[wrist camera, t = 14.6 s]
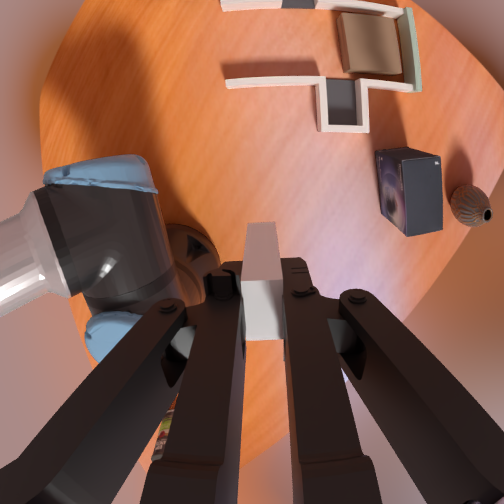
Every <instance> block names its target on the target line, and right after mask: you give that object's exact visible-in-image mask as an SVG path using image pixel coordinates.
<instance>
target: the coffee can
mask: <svg viewBox="0 0 504 504" xmlns="http://www.w3.org/2000/svg"><path fill="white" fill-rule="evenodd" d="M173 413H174V409H172V410H168V411H167V413H166V414H165V416H164V418H163V420H162V423H161V427H160V430H159V434H158V438H157V441H156V445H155V448H154V452H153V455H152V457H151V460H152V462H153V461H154V460H157V459H160V458H161V457H162V455H163V452H164V448H165V444H166V440H167V436H168V432H169V428H170V424H171V421H172V417H173Z"/></svg>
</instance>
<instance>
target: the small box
mask: <svg viewBox="0 0 504 504" xmlns="http://www.w3.org/2000/svg"><path fill="white" fill-rule="evenodd" d="M375 156H376V164H377V173H378V182H379V192H380V204H381V214H382V215H383V216H385V217H386V218H387V219H388V220H389V221H390V222H391V223H393V224H394V225H395V226H396V227H397V228H398V229H399V230H400V231H401V232H402V233H404V234H405V235H406V237H410V236H416V235H421V234H426V233H431V232H435V231H440V230H443V194H442V171H441V157H440V156H438V155H433V154H430V153H426V152H422V151H419V150H415V149H411V148H409V147H403V148H396V149H387V150H386V149H383V150H379V151H375Z"/></svg>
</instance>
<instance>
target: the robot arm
mask: <svg viewBox="0 0 504 504" xmlns="http://www.w3.org/2000/svg"><path fill="white" fill-rule="evenodd" d="M43 184H45V186H44V187H42V188H40V189H37V190H35V191H32V192H30V194H29V196H28V198H27V200H26V202H25V204H24V207H23V209H22V210H21V211H20V213H19V214H16V215H14V216H12V217H10V218H8V219H6V220H4V221H2V222H0V317H2V316H3V315H5V314H7V313H9V312H11V311H13V310H15V309H17V308H19V307H20V306H22V305H24V304H26V303H28V302H30V301H32V300H34V299H36V298H38V297H40V296H41V295H43V294H45V293H47V292H53V293H56V294H58V295H61V296H63V297H66V298H71V297H73V296H75V295H77V294H79V293H81V292H82V293H83V296H84V298H85V300H86V302H87V305H88V307H89V309H90V311H91V314H92V317H91V318H90V320H89V321H88V322H87V325H86V332H85V343H86V346H87V348H88V350H89V352H90V354H91V355H92V356H93V358H94V359H95V360H96V361H97V362H98V363H99V364H98V365H97V366H96V367H95V368H94V370H93V371H92V372H91V373H90V374H89V375H88V376H87V377H86V379H85V380H84V381H83V382H82V383H81V384H80V385H79V387H78V388H77V389H76V390H75V391H74V392H73V393H72V395H71V396H70V397H69V398H68V399H67V400H66V401H65V403H64V404H63V405H62V406H61V407H60V408H59V409H58V411H57V412H56V413H55V414H54V415H53V416H52V418H51V419H50V420H49V421H48V422H47V424H46V425H45V426H44V427H43V428H42V430H41V431H40V432H39V433H38V434H37V435H36V437H35V438H34V439H33V440H32V442H31V443H30V444H29V445H28V446H27V448H26V449H25V450H24V451H23V452H22V454H21V455H20V456H19V458H17V459H16V460H14V461H12V462H11V463H9V464H8V465H6V466H5V467H3V468H1V469H0V504H111V503H112V501H113V499H114V498H115V496H116V495H117V493H118V491H119V490H120V488H121V486H122V485H123V483H124V482H125V480H126V478H127V477H128V475H129V473H130V472H131V470H132V468H133V467H134V465H135V463H136V462H137V460H138V459H139V457H140V455H141V454H142V452H143V451H144V449H145V447H146V446H147V444H148V442H149V441H150V439H151V437H152V436H153V434H154V432H155V431H156V429H157V427H158V426H159V424H160V422H161V421H162V419H163V418H164V416H165V414H166V413H167V411H168V409H169V408H170V406H171V404H172V403H173V401H174V399H175V398H176V396H177V394H178V393H179V394H178V397H177V401H176V405H175V409H174V413H173V417H172V421H171V424H170V428H169V432H168V436H167V440H166V444H165V448H164V452H163V455H162V457H161V458H160V459H157V460H154V461H153V462H152V463H151V465H150V467H149V470H148V472H147V476H146V480H145V485H144V488H143V492H142V496H141V500H140V504H237V496H238V479H239V463H240V446H241V430H242V413H243V396H244V380H245V363H246V341H248V340H275V339H284V361H285V371H286V385H287V399H288V414H289V430H290V446H291V464H292V481H293V482H292V483H293V504H382V500H381V496H380V491H379V486H378V482H377V477H376V473H375V469H374V465H373V462H372V460H371V458H370V457H369V456H367V455H364V454H363V452H362V450H361V446H360V442H359V438H358V433H357V429H356V425H355V421H354V417H353V413H352V409H351V404H350V400H349V397H348V393H347V389H346V385H345V381H344V377H343V374H342V370H341V368H342V369H343V371H344V372H345V374H346V376H347V377H348V379H349V380H350V382H351V383H352V385H353V386H354V388H355V390H356V391H357V393H358V394H359V396H360V397H361V399H362V400H363V402H364V404H365V405H366V407H367V408H368V410H369V412H370V413H371V415H372V416H373V418H374V419H375V421H376V423H377V424H378V426H379V427H380V429H381V431H382V432H383V433H384V435H385V437H386V438H387V440H388V442H389V443H390V445H391V446H392V448H393V449H394V451H395V453H396V454H397V456H398V458H399V459H400V461H401V462H402V464H403V465H404V467H405V469H406V470H407V472H408V474H409V475H410V477H411V478H412V480H413V482H414V483H415V485H416V487H417V488H418V490H419V491H420V493H421V495H422V496H423V498H424V499H425V501H426V503H427V504H504V432H503V430H502V429H501V428H500V427H499V426H498V425H497V423H495V421H494V420H493V419H492V418H491V417H490V416H489V414H488V413H487V412H486V411H485V410H484V409H483V408H482V406H481V405H480V404H479V403H478V402H477V401H476V400H475V399H474V397H472V395H471V394H470V393H469V392H468V391H467V390H466V389H465V388H464V387H463V385H462V384H461V383H460V382H459V381H458V380H457V379H456V378H455V377H454V376H453V375H452V374H451V373H450V372H449V371H448V370H447V368H445V366H444V365H443V364H442V363H441V362H440V361H439V360H438V359H437V358H436V357H435V356H434V355H433V354H432V353H431V352H430V351H429V350H428V349H427V348H426V347H425V346H424V345H423V343H421V341H419V339H417V337H416V336H415V335H414V334H413V333H412V332H411V331H410V330H409V329H407V327H406V326H404V325H403V323H402V322H401V321H400V320H399V319H398V318H397V317H396V316H394V315H393V314H392V313H391V312H390V311H389V310H388V309H387V308H386V307H385V306H384V305H383V304H382V303H381V302H380V301H379V300H378V299H377V298H376V297H375V296H374V295H373V294H371V293H370V292H368V291H365V290H362V289H349V290H346V291H344V292H343V293H341V294H340V298H339V299H332V298H327V297H324V296H321V295H320V294H319V291H318V289H317V288H316V287H314V286H313V284H312V280H311V277H310V274H309V270H308V267H307V264H306V262H305V261H304V260H303V259H302V258H300V257H297V258H280V253H279V246H278V238H277V231H276V224H275V222H261V223H248V226H247V234H246V242H245V250H244V258H243V261H230V262H224V263H223V264H222V265H221V263H220V259H219V256H218V253H217V251H216V249H215V248H214V246H213V245H212V243H211V242H210V241H209V240H208V239H207V238H206V237H205V236H204V235H203V234H201V233H200V232H198V231H197V230H195V229H193V228H190V227H187V226H184V225H179V224H167V225H165V223H164V220H163V216H162V212H161V208H160V203H159V199H158V195H157V194H158V190H157V189H156V188H155V186H154V182H153V179H152V175H151V172H150V168H149V165H148V163H147V161H146V160H145V159H144V158H143V157H141V156H139V155H135V154H126V155H116V156H109V157H102V158H96V159H91V160H86V161H81V162H77V163H73V164H71V165H65V166H62V167H57V168H53V169H50V170H48V171H46V172H45V174H44V179H43ZM245 337H246V341H245Z"/></svg>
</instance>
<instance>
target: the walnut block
mask: <svg viewBox="0 0 504 504" xmlns="http://www.w3.org/2000/svg"><path fill="white" fill-rule="evenodd" d="M336 23H337V30H338V36H339V43H340V50H341V57H342V65H343V73H359V74H376V75H389V76H393V75H396V74H400V73H402V68H401V61H400V53H399V47H398V41H397V35H396V29H395V24H394V19H393V18H388V17H381V16H373V15H365V14H354V13H341V14H340V16H339V17H338V18H337V19H336Z"/></svg>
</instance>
